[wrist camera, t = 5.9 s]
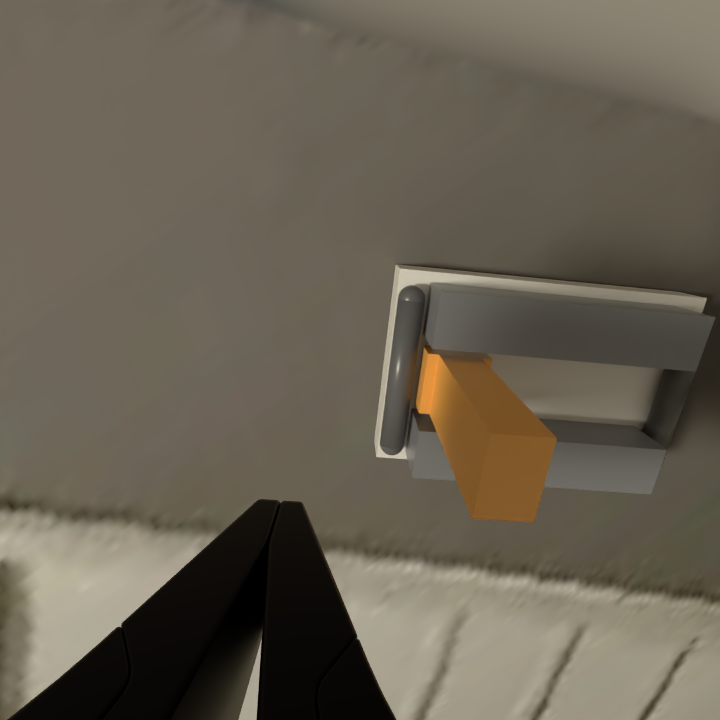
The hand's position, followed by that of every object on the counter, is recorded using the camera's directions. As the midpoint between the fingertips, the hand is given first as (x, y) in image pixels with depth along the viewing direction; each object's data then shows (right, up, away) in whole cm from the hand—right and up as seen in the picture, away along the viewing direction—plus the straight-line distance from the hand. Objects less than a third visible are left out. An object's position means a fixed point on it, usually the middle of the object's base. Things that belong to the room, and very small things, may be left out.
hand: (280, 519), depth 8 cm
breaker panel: (+9, +3, +11) cm, 14 cm away
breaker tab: (+5, +2, +9) cm, 11 cm away
